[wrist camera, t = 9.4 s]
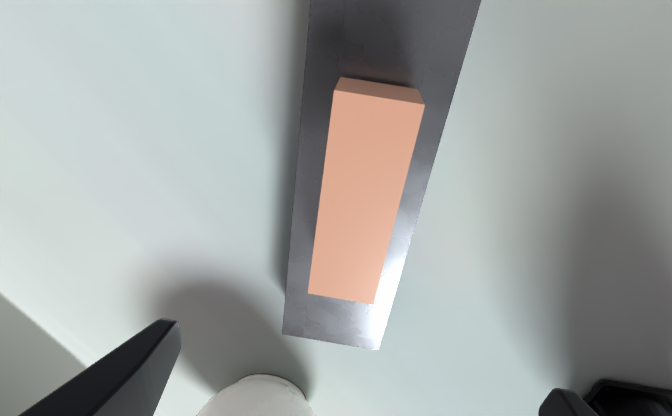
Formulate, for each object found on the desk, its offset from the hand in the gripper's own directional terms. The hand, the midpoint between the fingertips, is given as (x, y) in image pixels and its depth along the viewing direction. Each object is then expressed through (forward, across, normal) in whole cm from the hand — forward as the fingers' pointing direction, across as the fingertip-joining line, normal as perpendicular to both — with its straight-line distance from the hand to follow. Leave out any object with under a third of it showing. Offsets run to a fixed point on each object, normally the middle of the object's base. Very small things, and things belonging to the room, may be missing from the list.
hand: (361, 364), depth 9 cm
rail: (+12, 0, 0) cm, 12 cm away
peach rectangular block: (+12, 0, 0) cm, 12 cm away
